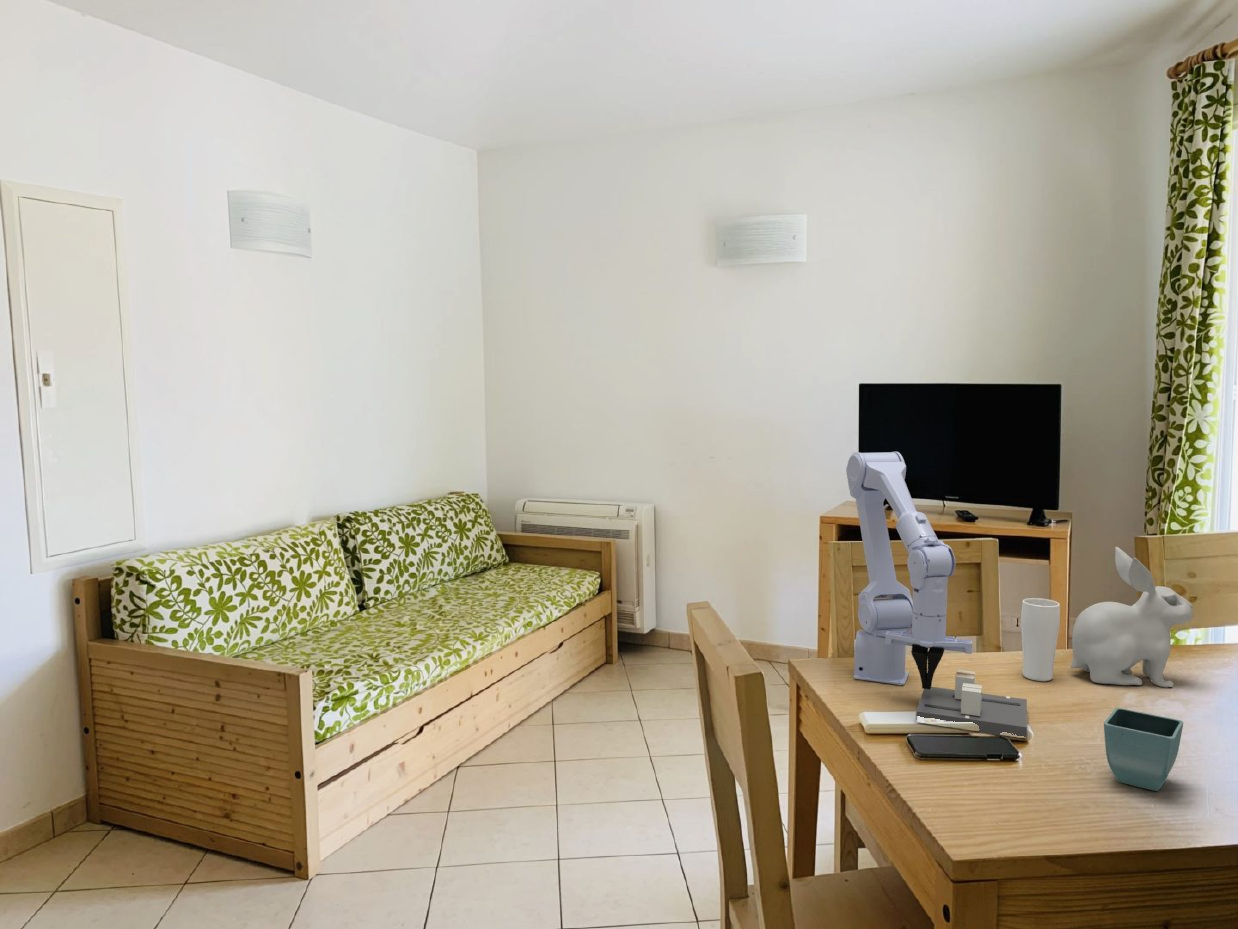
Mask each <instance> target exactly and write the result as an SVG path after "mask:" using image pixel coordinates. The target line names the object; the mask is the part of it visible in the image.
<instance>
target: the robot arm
mask: <svg viewBox="0 0 1238 929" xmlns="http://www.w3.org/2000/svg"><path fill="white" fill-rule="evenodd" d="M845 468H846V469H845V471H846V477H847V478H846V479H847V483H848V489H849V494H850V497H852V498H853V499H855V502H856V507H857V508H856V510H857V514H858V522H859V527H860V533H861V539H862V545H863V551H864V557H865V563H866V570H867V575H868V582H869V583H868V584H867V586H865V588H863V589H862V590H861V592H860V593H859V594H858V596H857V598H858V609H857V617H858V621H859V625H860V626H861V628H862V629H858V630H857V632H856V635H855V642H854V663H853V664H854V668H853V672H854V675H853V679H855V680H861V681H868V682H869V681H870V682H876V683H884V684H889V685H890V684H891V685H896V686H897V685H898V686H905V685H906V682H907V680H908V677H909V675H910V671H909V670H906V650H907V646H908V647H911V651H910V653H911V656H912V658H913V660H914V662H915V664H916V667H917V669H918V674H919V678H920V681H921V689H923V690H924V689H931V687H932V682H933V678H934V675H935V672H936V670H937V667H938V666H939V663H940V661H941V659H942V658H943V656H944V653H945V651H950V652H951V651H952V652H959V653H964V654H967V655H972V652H973V640H970V639H964V638H963V639H962V638H958V637H955V636H949V635H947V634H946V632H947V610H948V608H947V606H948V605H947V604H948V583H949V582H948V581H949V580H948V578H950V577H952V576H953V575H954V573H955V570H956V558H955V554H954V552H953V548H951V546H950V545H949V544H946V543H944V541H942V540H940V539H938V537H937V534H936V533H935V531H934V529H933V526H932V525H931V523H930V521H929V519H928V518H927V516H926V514H925V513H923V512H921V511H917V509H916V506H915V504H914V501H913V499H912V496H911V493H910V491H909V489H908V486H907V483H906V481H905V479H906V472H907V465H906V463H905V460H904V457H903V456H902V454H901V453H900V452H899V451H891V452H889V451H888V452H885V451H884V452H857V451H856V452H852V454H851V455H850V457H849V459H848V461H847V466H846V467H845ZM885 500H886V501H887V503H888V504H889V506H890V507H891V509H892V511H893V512H894V514H895V516H896V518H897V521H896V523H895V528H896V530H897V533H898V534H899V537H900V539H901V541H902V543H903V546H904V547H905V550H906V552H907V554H908V557H907V559H906V563H907V564H906V565H907V566H906V567H907V570H908V573H909V582H910V586H911V587H912V588H913V589H912V594H911V591H910V589H909V588H908V587H907V586H905V585H904V584H902V583H901V582H899V581H898V580H897V574H896V570H895V564H894V559H893V558H894V557H893V553H892V546H891V540H890V536H889V529H888V525H887V524H888V523H887V518H886V513H885V507H884V506H885V505H884V502H885Z"/></svg>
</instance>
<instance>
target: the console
mask: <svg viewBox="0 0 1238 929" xmlns="http://www.w3.org/2000/svg"><path fill="white" fill-rule="evenodd" d="M1027 700H1028V699H1026V698H1020V697H1011V696H1007V695H1006V696H1005V695H997V694H991V693H983V692H982V701H981V713H980V716H975V715H968V714H961V700H960V699H955V689H953V688H952V689H951V688H945V687H936V686H931V689H923V691H922V693H921V696H920V700H919V702H918V706H917V707H916V712H915V713H916V714H915V717H916V716H920V717H924V718H935V719H940V720H946V721H953V722H954V721H955V722H973V723H975V724H977V725H978V726H979V729H980V730H979V731H978V732H977V733H980V734H987V735H995V736H1000V733H1002V732H1007V733H1011V734H1012V733H1013V734H1014V735H1015V734H1016V735H1017V736H1024V737H1026V738H1027V737H1028V736H1027V734H1028V733H1027V732H1028V731H1027V730H1028V729H1027V728H1028V715H1027V714H1028V708H1027V707H1028V701H1027ZM1013 734H1012V735H1013Z"/></svg>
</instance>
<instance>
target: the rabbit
mask: <svg viewBox="0 0 1238 929" xmlns="http://www.w3.org/2000/svg"><path fill="white" fill-rule="evenodd" d="M1114 548H1115V550H1114V552H1115V554H1114V555H1115V556H1114V561H1115V568H1116V570H1117V573H1118V575H1119V577H1120V578H1121V580H1123V582H1125V583H1126V584H1127V585H1129V586H1131V587H1133V588H1134V589H1135V590H1136V591H1137V592H1142V594H1141V596H1140V597H1139V599H1138V600H1137V601H1136V602H1135V603H1134V604H1132V605H1128V604H1125V603H1121V602H1115V601H1103V602H1097V603H1095V604H1091V605H1090V606H1088V607H1087V608H1085V609H1084V610H1081V612H1080V613H1079V614H1078V616H1077V617H1076V619H1075V622H1074V625H1073V629H1072V634H1071V635H1072V636H1071V642H1072V644H1071V645H1072V655H1073V656H1072V659H1071V663H1070V669H1082V671H1085V672H1088V673H1089V678H1090V680H1091V681H1092V682H1093V683H1096V684H1104V685H1105V684H1106V685H1108V684H1109V685H1118V686H1119V685H1120V686H1130V685H1131V686H1132V685H1133V686H1134V685H1135V686H1141V685H1143V680H1142V679H1141V678H1139V677H1138V676H1135V675H1132V673H1133V672H1132V670H1131V668H1133V667H1135V665H1137V664H1138V663H1141V662H1142V667H1141V668H1142V670H1141V672H1142V673H1143V675H1144V676H1145V677H1147V678H1150V681H1151V683H1153V684H1154V685H1156V686H1157V687H1161V688H1168V687H1172V688H1173V687H1174V686H1175V684H1174V682H1173V681H1171V680H1165V679H1164V678H1165V676H1164V670H1165V669H1166V666H1167V662H1168V659H1169V657H1170V654H1171V644H1172V643H1171V637H1172V636H1171V632H1170V630H1171V628H1172V626H1174V625H1175V626H1176V625H1183V624H1184V623H1186V622H1189V621H1191V620H1192V619H1193V618H1194V611H1193V607H1194V605H1193V604H1192V603H1191V602H1190V601H1188V599H1186V598H1185V597H1183V596H1182V595H1180V594H1178V593H1177V592H1176V591H1175V590H1173V589H1172V588H1170V587H1167V586H1161V585H1160V586H1159V585H1157V586H1156V585H1155V581H1154V580H1155V579H1154V577H1153V575H1152V573H1151V571H1150V570H1149V569H1148V568H1147V567H1146V566H1145V565H1143V563H1142V562H1141V561H1140V559H1138V558H1136V557H1133V558H1131V556H1129V555H1128V554H1127V553H1126V551H1124V550H1122V549H1121V548H1120V547H1118V546H1115V547H1114Z"/></svg>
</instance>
